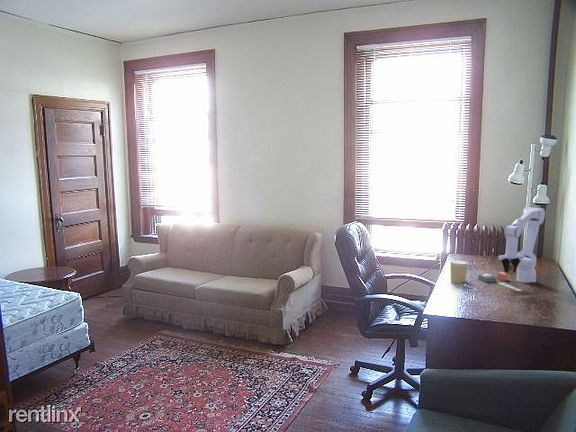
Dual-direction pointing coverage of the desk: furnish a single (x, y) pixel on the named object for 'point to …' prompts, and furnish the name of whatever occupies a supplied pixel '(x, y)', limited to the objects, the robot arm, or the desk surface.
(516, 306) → the desk surface
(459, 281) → the coffee cup
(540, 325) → the desk surface
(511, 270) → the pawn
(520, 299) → the desk surface
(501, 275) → the die
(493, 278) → the board
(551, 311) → the desk surface
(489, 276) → the dome
